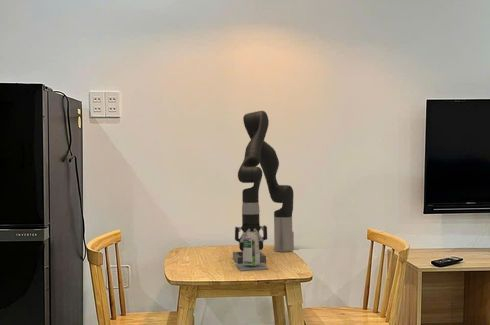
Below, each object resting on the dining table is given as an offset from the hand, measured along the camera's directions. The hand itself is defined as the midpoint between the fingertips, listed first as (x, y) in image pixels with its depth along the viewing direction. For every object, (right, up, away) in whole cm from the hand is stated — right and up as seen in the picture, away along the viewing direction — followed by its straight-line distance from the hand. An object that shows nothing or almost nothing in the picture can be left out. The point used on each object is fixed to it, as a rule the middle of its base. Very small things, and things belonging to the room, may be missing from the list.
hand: (251, 250), depth 212 cm
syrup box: (0, -6, 0) cm, 6 cm away
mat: (0, -7, 0) cm, 7 cm away
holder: (-1, -7, +14) cm, 16 cm away
